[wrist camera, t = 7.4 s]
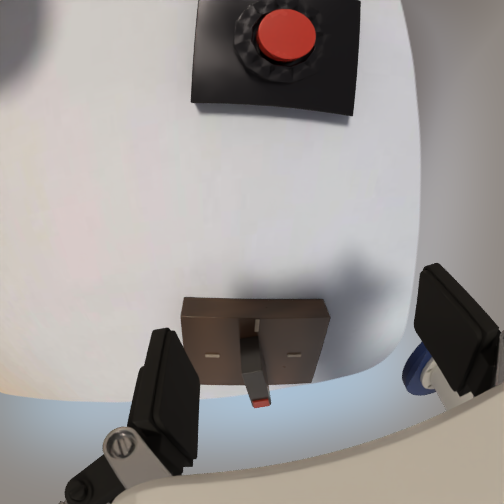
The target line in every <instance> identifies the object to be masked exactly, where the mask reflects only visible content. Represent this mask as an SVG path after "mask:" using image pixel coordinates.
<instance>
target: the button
mask: <svg viewBox="0 0 504 504" xmlns="http://www.w3.org/2000/svg"><path fill="white" fill-rule="evenodd" d="M315 40H316V33H315V29H314V26H313V24H312V23H311V21H310V20H309V19H308V18H307V17H306V16H305V15H303V14H301V13H300V12H297V11H295V10H290V9H279V10H275V11H273V12H271V13H269V14H267V15H266V16H265V17H264V18H263V19H262V21H261V23H260V25H259V27H258V30H257V34H256V41H257V45H258V47H259V49H260V50H261V51H262V53H263V54H264V55H265V56H267V57H268V58H270V59H272V60H274V61H278V62H292V61H295V60H297V59H299V58H301V57H303V56H304V55H306V54H307V53H308V52H310V50H311V49H312V48H313V46H314V44H315Z"/></svg>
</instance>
